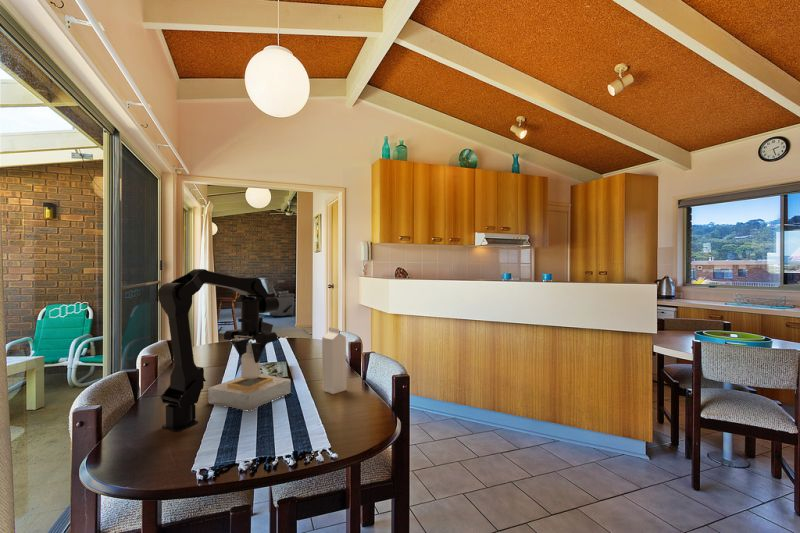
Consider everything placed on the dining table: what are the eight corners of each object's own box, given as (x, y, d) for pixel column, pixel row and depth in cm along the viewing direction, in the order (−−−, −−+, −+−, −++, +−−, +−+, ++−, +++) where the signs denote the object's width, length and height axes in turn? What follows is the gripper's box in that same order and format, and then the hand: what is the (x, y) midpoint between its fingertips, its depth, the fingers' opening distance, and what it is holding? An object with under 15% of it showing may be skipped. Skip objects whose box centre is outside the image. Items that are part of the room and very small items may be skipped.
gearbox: (249, 412, 113) (249, 392, 113) (208, 403, 121) (208, 385, 121) (300, 389, 134) (299, 373, 134) (262, 383, 142) (262, 367, 142)
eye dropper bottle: (251, 380, 122) (251, 343, 122) (239, 378, 124) (239, 342, 124) (261, 376, 126) (261, 341, 126) (249, 374, 128) (249, 339, 128)
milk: (332, 394, 128) (332, 330, 128) (322, 390, 132) (321, 328, 132) (346, 390, 133) (346, 328, 133) (336, 386, 137) (335, 326, 137)
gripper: (288, 313, 129) (288, 359, 128) (248, 311, 136) (248, 354, 136) (264, 317, 118) (264, 366, 118) (222, 314, 126) (222, 361, 126)
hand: (250, 361), depth 125 cm, fingers closed on eye dropper bottle, 6 cm apart
